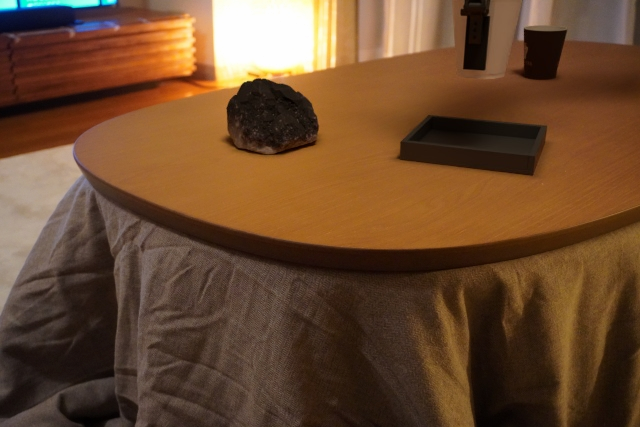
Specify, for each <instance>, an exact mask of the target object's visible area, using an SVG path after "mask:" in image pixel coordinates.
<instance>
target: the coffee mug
mask: <svg viewBox="0 0 640 427" xmlns="http://www.w3.org/2000/svg"><path fill="white" fill-rule="evenodd" d="M567 33H568V27H566V26H560V25H547V24H546V25H545V24H544V25H543V24H542V25H541V24H540V25H527V26H524V27H523V77H524V78H526V79H531V80H540V81H544V80H545V81H547V80H548V81H549V80H554V79H555V78H556V76H557V73H558V69H559V65H560V61H561V57H562V53H563V48H564V45H565V40H566V37H567Z"/></svg>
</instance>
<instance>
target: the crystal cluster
mask: <svg viewBox="0 0 640 427" xmlns="http://www.w3.org/2000/svg"><path fill="white" fill-rule="evenodd" d="M225 109H226V121H227V122H226V123H227V125H226V126H227V132H228V134H229V137H230V138H231V139H232V141H233V145H234V146H236V148H238V149H246V150H248V151H250V152H251V151H252V152H255V153H260V154H265V155H274V154H277V153H280V152H283V151H286V150H290V149H292V148H297V147H299V146H304V145H307V144H311V143H313V142H315V141H316V140H318V136H319V135H318V133H319V129H320V125H319V120H318V115H317V114H316V113H315V111H314V107H313V103H312V102H311V100H309V99H308V97H307V96H305V95H304V94H303V93H302V92H301V91H299V90H298V91H296V90H295V89H294V88H293V87H292V86H291V85H288V84H285V83H283V82H282V83H278V82H275V81H273V80H271V79H267V78H261V77H259V78H258V77H256V78H254V79H253V80H247V81H243V82H242V83H241V84H240V86H239V88H238V90H237V91H236V94H234V95H233V96H232V97H231V98H230V99H229V100H228V102H227V106H226V108H225Z"/></svg>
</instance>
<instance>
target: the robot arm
mask: <svg viewBox="0 0 640 427" xmlns="http://www.w3.org/2000/svg"><path fill="white" fill-rule="evenodd" d="M489 6H490V0H465V3H464V6H463V9H461V11H460V15H461V16H467V22H466V35H465V49H464V62H463V69H466V70H482V71H485V70H486V59H487V47H488V36H489V25H490V16H488V14H489Z"/></svg>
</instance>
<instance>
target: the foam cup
mask: <svg viewBox="0 0 640 427" xmlns="http://www.w3.org/2000/svg"><path fill="white" fill-rule="evenodd" d="M464 3H465V0H451V5H452V6H451V7H452V20H453V21H452V24H453V38H454V40H453V41H454V57H455V69H456V75H457V76H458V77H461V78H465V79H472V80H492V79H493V80H495V79H500V78H504V77H505V76H506V71H507V68H508V64H509V60H510V56H511V51H512V47H513V43H514V38H515V35H516V30H517V25H518V21H519V17H520V13H521V8H522V4H523V0H490V6H489V14H488V16H490V25H489V36H488V47H487V59H486V70H485V71H482V70H466V69H463V62H464V49H465V35H466V22H467V16H461V15H460V11H461V9H463V6H464Z"/></svg>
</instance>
